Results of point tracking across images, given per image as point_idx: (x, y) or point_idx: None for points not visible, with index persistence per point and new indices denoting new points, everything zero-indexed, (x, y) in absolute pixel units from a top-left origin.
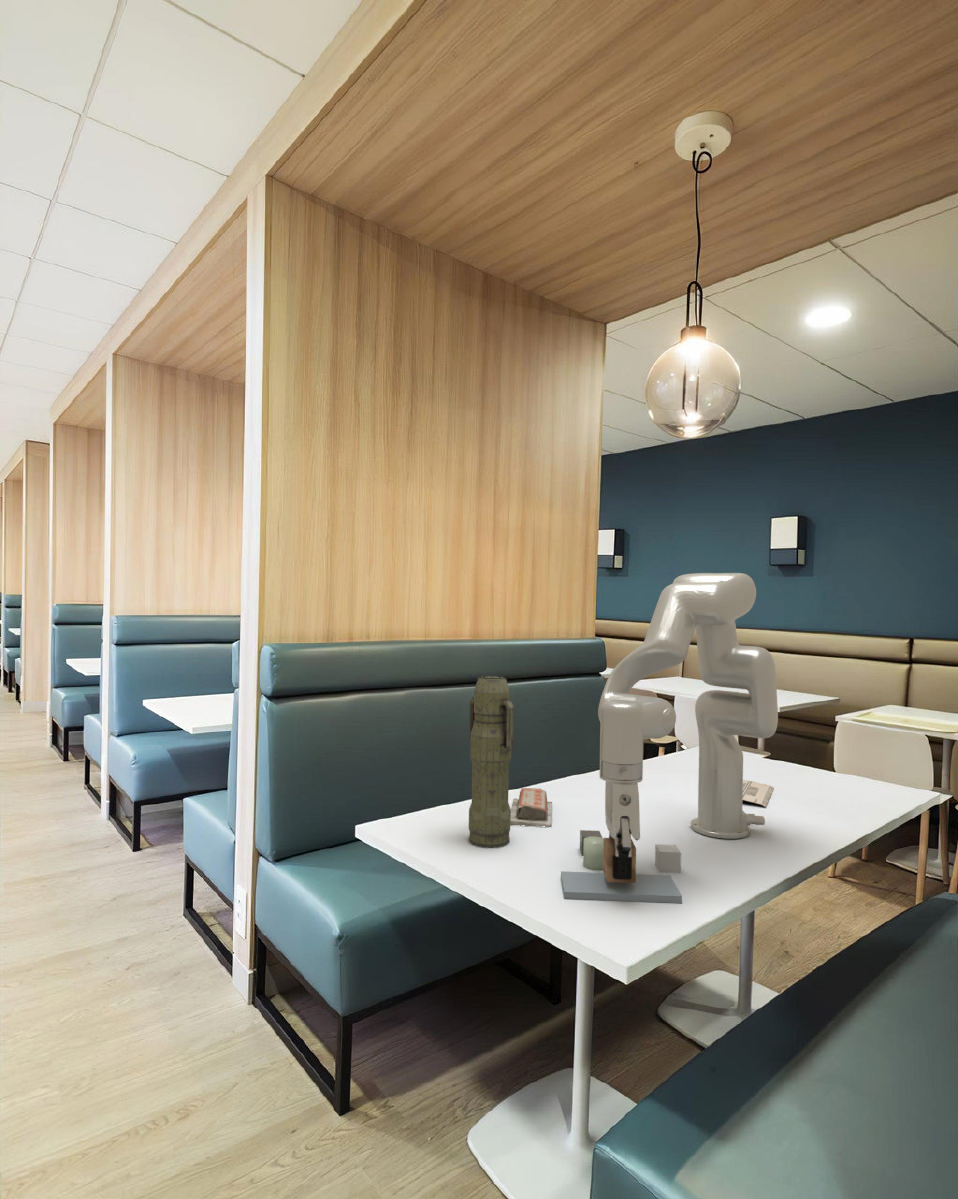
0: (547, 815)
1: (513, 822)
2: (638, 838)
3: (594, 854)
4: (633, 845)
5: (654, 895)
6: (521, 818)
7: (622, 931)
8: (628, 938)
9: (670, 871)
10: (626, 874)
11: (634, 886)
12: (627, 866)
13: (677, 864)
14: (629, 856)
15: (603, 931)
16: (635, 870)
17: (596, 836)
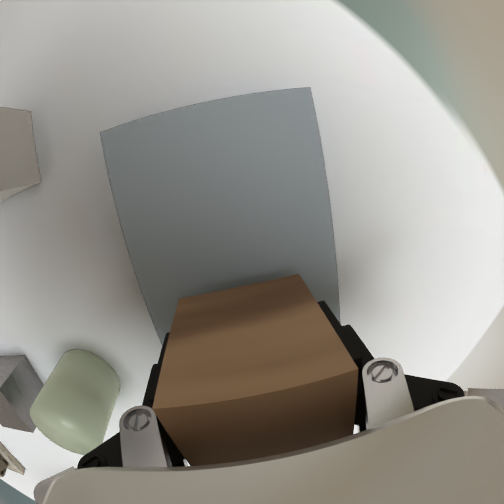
0: None
1: (20, 468)
2: (489, 400)
3: (106, 412)
4: (301, 392)
5: (327, 192)
6: (4, 460)
7: (471, 273)
8: (489, 258)
9: (32, 143)
10: (349, 327)
11: (264, 269)
12: (363, 344)
13: (13, 119)
14: (395, 368)
15: (467, 308)
16: (313, 299)
17: (5, 402)
